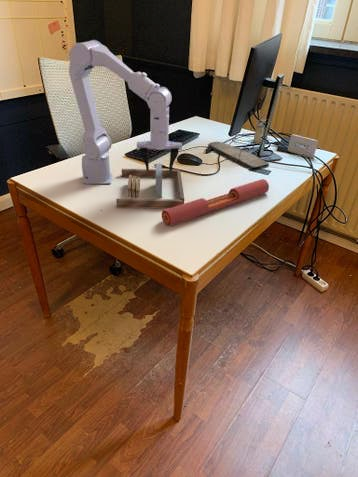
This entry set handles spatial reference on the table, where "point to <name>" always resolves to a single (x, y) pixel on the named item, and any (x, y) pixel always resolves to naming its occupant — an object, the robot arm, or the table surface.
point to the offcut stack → (133, 186)
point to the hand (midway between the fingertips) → (159, 169)
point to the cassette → (301, 149)
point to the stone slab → (237, 155)
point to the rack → (152, 202)
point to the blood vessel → (213, 202)
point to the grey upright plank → (158, 180)
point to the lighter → (259, 131)
